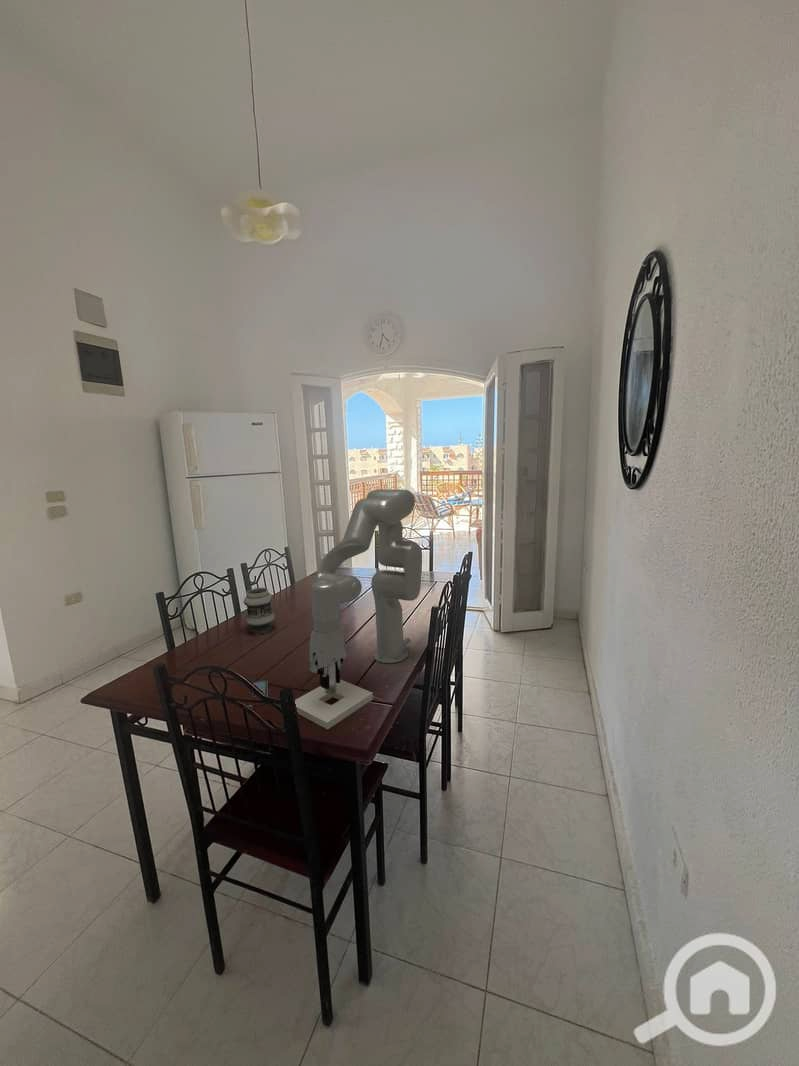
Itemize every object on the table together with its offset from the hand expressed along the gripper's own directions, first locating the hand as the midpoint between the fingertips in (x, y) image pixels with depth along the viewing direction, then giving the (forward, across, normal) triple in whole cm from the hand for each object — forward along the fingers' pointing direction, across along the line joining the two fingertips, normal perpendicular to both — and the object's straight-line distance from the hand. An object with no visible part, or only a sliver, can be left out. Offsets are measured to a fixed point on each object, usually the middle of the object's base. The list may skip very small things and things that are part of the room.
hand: (330, 684), depth 124 cm
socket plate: (+6, 0, 0) cm, 6 cm away
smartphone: (+7, +10, -24) cm, 27 cm away
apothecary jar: (+6, -21, -67) cm, 71 cm away
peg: (+2, 0, 0) cm, 2 cm away
